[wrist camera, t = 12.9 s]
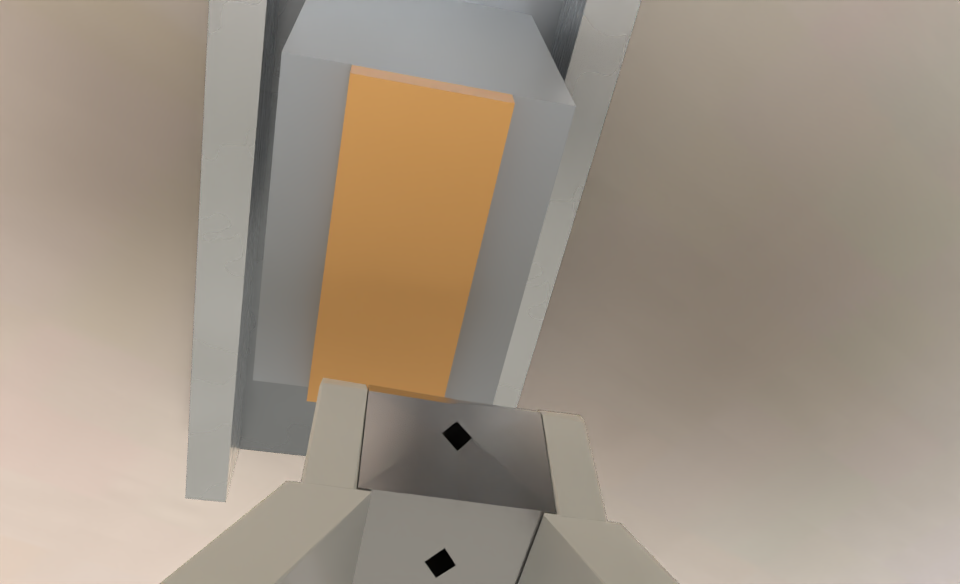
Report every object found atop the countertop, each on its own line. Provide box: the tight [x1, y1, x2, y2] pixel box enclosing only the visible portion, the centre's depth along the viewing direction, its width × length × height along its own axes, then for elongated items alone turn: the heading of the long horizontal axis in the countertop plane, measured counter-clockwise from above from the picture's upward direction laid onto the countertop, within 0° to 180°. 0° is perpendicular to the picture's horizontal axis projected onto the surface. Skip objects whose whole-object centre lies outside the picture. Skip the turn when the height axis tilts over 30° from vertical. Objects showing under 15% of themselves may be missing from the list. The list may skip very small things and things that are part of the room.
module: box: [253, 0, 576, 405], centre depth 16 cm, size 4×6×6 cm
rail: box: [185, 0, 641, 502], centre depth 18 cm, size 8×20×3 cm, turn 168°
